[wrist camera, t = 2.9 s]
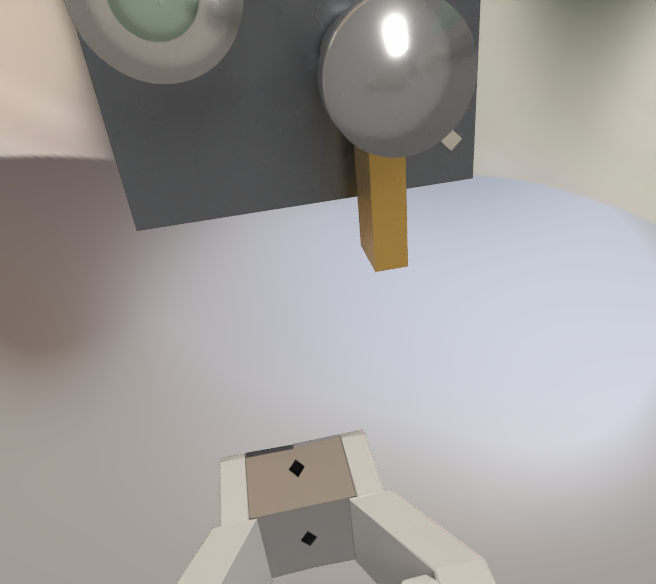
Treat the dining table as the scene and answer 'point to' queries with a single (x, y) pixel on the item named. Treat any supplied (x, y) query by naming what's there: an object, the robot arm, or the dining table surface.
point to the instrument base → (232, 106)
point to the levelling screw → (394, 102)
